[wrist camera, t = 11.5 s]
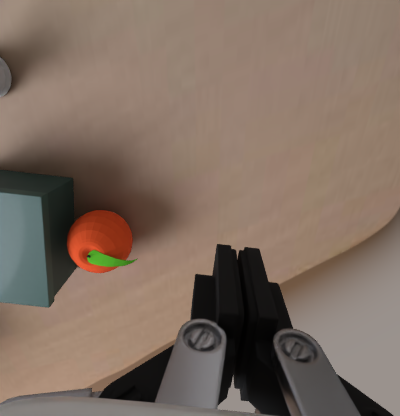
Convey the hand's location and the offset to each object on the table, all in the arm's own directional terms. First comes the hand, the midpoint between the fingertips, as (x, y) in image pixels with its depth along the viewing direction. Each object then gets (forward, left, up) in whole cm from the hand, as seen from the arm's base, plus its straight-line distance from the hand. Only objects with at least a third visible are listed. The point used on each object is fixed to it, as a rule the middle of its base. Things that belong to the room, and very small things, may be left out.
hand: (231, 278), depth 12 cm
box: (+10, -21, -23) cm, 33 cm away
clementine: (+10, -11, -23) cm, 28 cm away
